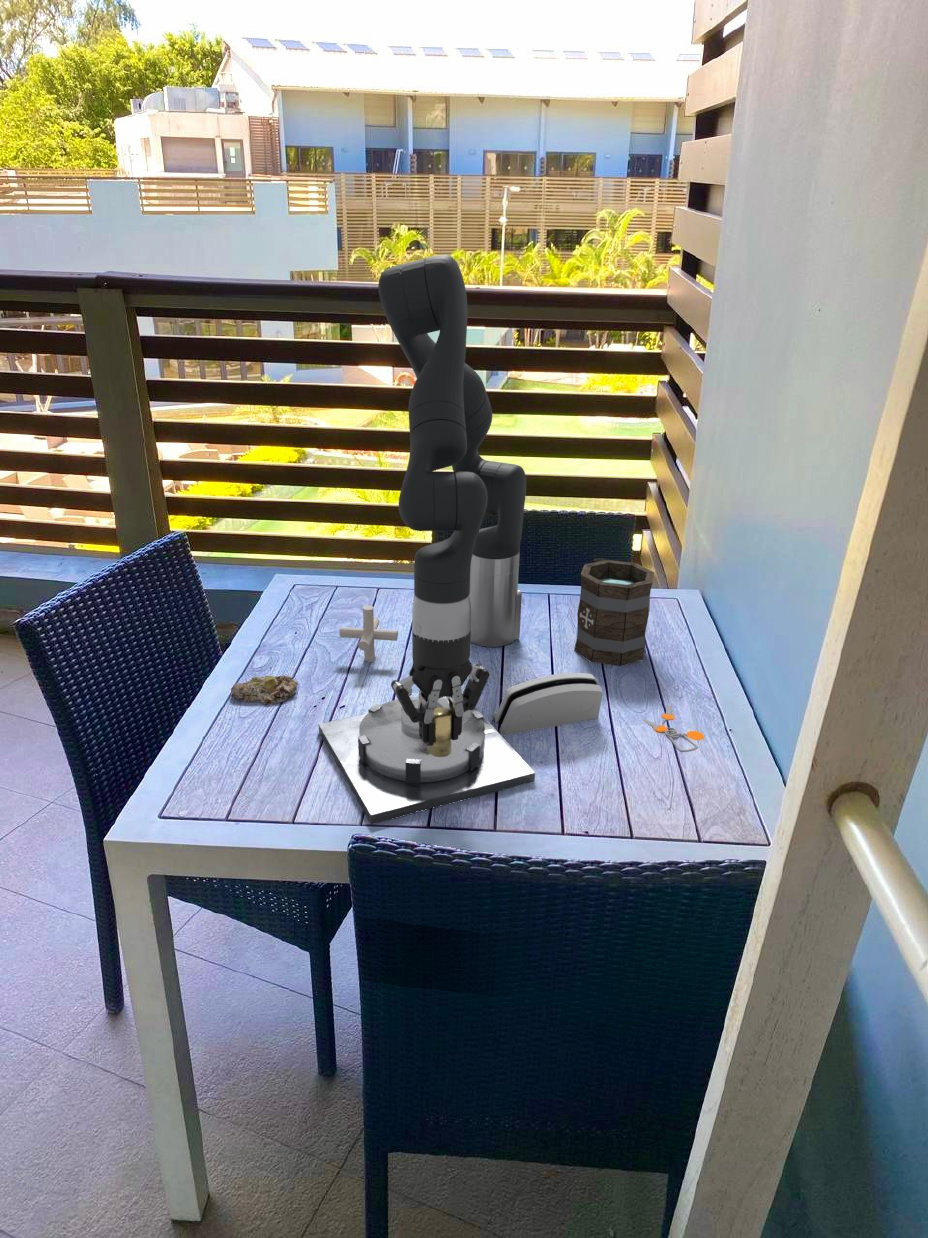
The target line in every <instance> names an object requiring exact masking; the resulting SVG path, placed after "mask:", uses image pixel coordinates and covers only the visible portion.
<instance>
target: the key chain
mask: <svg viewBox="0 0 928 1238" xmlns="http://www.w3.org/2000/svg"><path fill="white" fill-rule="evenodd" d="M665 709H666V711H665V713H662V714H661V718H662V719H664V720H663V721H662V722H661V724H656V723H655V722H652V721H650V720H648V719H646V718H643V720H642V721H643V722H644V723H645V724H647V726H651V728H653V731H655V732H657V733H664V734H665V736H666V737H668V738H669V740H670V741H671V742H672V743H671V744H673V745H674V747H675V749H677V750H678V751H679V752H682V753H683V752H685V753H686V752H692V751H695V750H697V749H698V748H699V746H698V745H697V744H696V743H694V742H693V741H703V740H704V739H705V735H704V734H703V733H702V732H700V731H697V730H689V731H688V732H685V733H683V732H677V729H676V728H675V727H668V726H666V725H665V722H667V721H672V720H675V718H676V716H675V715H674V713H673V706H672V705H666V708H665ZM675 738H677V739H679V738H681V739H686V740H687V741H689V742H690V743H691V744H692V745H693V746H694V747H691V748H688V749H681V748H680V747H679V745H678V744H677V743H676V741H675ZM690 739H691V740H693V741H691V740H690Z"/></svg>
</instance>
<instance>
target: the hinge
mask: <svg viewBox="0 0 928 1238" xmlns="http://www.w3.org/2000/svg"><path fill="white" fill-rule="evenodd" d="M603 695H604V694H603V689H602V686H601V685H599V684H598V680H597V678H596V677H595V676H594V675H593V674H591V673H583V672H564V673H557V674H549V675H545V676H541V677H536V678H533V679H530V680H526V681H523V682H521V683H518V684H516V685H515V684H514V685H513V686H511V687H509V688H508V689H506V691H505V694H504V696H503V698H502V701H501V703H500V705H499V707H498V710H497V711H496V710H495V711H493V714H492V718H491V720H492V721H493V722H494V721H495V725H499V730H498V733H499V734H500V735H501V736H502V737H503V736H509V735H515V734H521V733H527V732H531V731H536V730H537V731H538V730H543V729H549V728H553V727H559V726H564V725H569V724H574V723H581V722H587V721H591V720H596V719H597V720H598V719H599V716H600V715H599V714H600V710H601V706H602V705H601V704H602V700H603Z"/></svg>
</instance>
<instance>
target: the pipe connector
mask: <svg viewBox="0 0 928 1238" xmlns="http://www.w3.org/2000/svg"><path fill="white" fill-rule="evenodd" d="M362 621H363V622H362V624H363V625H362V626H363V627H347V626H346V627H345V626H341V627H340V629H339V637H340V638H346V639H360V640H359V642H358V645H357V647H358V649H359V650H360V651H363V655H364V661H365V662H373V661H375V659H376V658H375V654H376V653H375V640H379V641H392V642H394V641H395V642H397V641H398V640H399V639H398V637H399V631H398V630H395V629H394V630H393V629H383V628H382V629H380V628H378V627H379V625H380V619H379V618H378V617H376V616H374V606H372V605H364V606H363V607H362Z"/></svg>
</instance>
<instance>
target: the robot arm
mask: <svg viewBox="0 0 928 1238" xmlns="http://www.w3.org/2000/svg"><path fill="white" fill-rule="evenodd" d="M378 295H379V301H380V303H381V307H382V310H383V313H384V315H385V318H386V319H387V322H388V324H389V326H390V328H391V330H392V332H393V335H394V337H395V338H396V340H397V342H398V344H399V346H400V348H401V349H402V351H403V354H404V355H405V356H406V359H407V360H408V362H409V364H410V366H411V369H412V371H413V373H414V376H415V377H416V380H415V382H414V383H413V384H414V385H413V387H412V389H411V392H410V396H409V400H408V423H409V425H408V426H409V443H410V444H409V458H408V464H407V467H406V471H405V475H404V478H403V480H402V485H401V488H400V491H399V492H400V493H399V497H398V512H399V517H400V518H401V520H402V521H403V523H404V524H405V525H406V526H407V528H409V529H411V530H412V531H417V532H432V531H433V532H441V531H442V532H444V531H445V532H446V531H447V532H448V531H450V532H451V531H453V533H452V534H451V536H450V537H448V538H446V539H444V540H442V541H439V542H434V543H431V544H427V545H424V546H423V547H421V548H419V549H418V550H417V551H416V553H415V554H414V562H413V586H414V587H413V591H414V592H413V601H412V610H411V616H412V617H411V618H412V621H411V622H412V623H411V624H412V626H411V627H412V628H411V631H412V635H411V637H412V639H411V640H412V641H411V643H412V644H411V645H412V646H411V648H412V653H411V654H412V655H411V658H412V666H411V668H410V670H409V673H408V674H409V675H408V676H406V677H405V678H403V679H402V680H398V679H394V680H392V681H391V683H390V686H391V689H392V690H393V692H394V694H395V696H396V698H397V699H398V700H399V702H400V704H401V706H402V707H403V709H404V711H405V713H406V714H407V715H408V716H409V718H410V719H411V721H412V722H413V723H416V722H418V721H419V736H420V738H421V740H422V741H423V742H424V743H426V745H427V746H432V745H433V744H434V723H433V722H432V719H433V714H434V709H436V707H437V703H438V699H439V698H445V697H447V700H448V706H449V708H450V711H451V712H452V736H451V739H452V740H457V739H458V735H461V732H462V715H463V714H464V712H465V711H467V710H473V709H475V708H477V705H478V703H479V701H480V698H481V696H482V693H483V691H484V689H485V686H486V684H487V682H488V680H489V678H490V675H491V674H490V671H488V670H487V668H486V667H484V666H483V665H482V663H476V664H472V663H471V660H470V658H471V643H472V644H474V645H478V646H481V647H490V648H496V647H504V646H507V645H509V644H511V643H513V642H514V641H515V640H520V635H521V619H522V618H521V617H522V616H521V615H522V599H523V593H522V591H521V590H520V589H519V588H518V587H519V571H520V570H519V569H520V551H521V550H520V549H521V548H520V547H521V540H522V534H523V525H524V512H525V504H526V495H527V475H526V472H525V469H524V467H522V466H521V465H520V464H519V465H518V464H514V463H508V462H500V461H494V460H493V461H492V460H486V459H484V458H482V457H481V455H480V452H479V450H478V449H479V448H480V445H482V443H483V441H484V440H485V438H486V436H487V434H488V433H489V430H490V427H491V425H492V422H493V410H492V406H491V402H490V398H489V396H488V392H487V390H486V387H485V383H484V381H483V380H482V378H481V376H480V375H479V374H478V373H477V372H476V371H475V370H474V368H473V367H471V366H470V365H468V364H467V363H466V352H467V330H468V296H467V291H466V284H465V281H464V277H463V273H462V271H461V269H460V266H459V264H458V262H457V260H456V259H455V258H454V257H453V256H451V255H449V254H439V255H437V254H436V255H433V256H428V257H424V258H420V259H417V260H413V261H408V262H405V263H400V264H396V265H394V266H391V267H389V268H386V269H385V270H383V271H382V272H381V274H380V276H379V279H378ZM433 332H439V333H438V337H437V339H436V342H435V341H434V340H433V339H432V338H431V336H430V335H429V334H430V333H433ZM450 467H451V468H452V471H438V470H442V469H445V468H450ZM485 515H489V516H496V517H498V518H497V519H498V520H497V524H496V525H494V526H489V527H484V528H481V526H482V524H483V521H484V518H485ZM467 679H468V680H467ZM466 680H467V683H466V684H465V687H464V690H463V691H462V687H463V684H464V683H465V682H466ZM414 685H415V686H416V687H417V688H418V689H419V691H418V696H417V697H419V705H418V708H415V706H414V705H413V703H412V701H411V699H410V697H412V693H413V686H414Z"/></svg>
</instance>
